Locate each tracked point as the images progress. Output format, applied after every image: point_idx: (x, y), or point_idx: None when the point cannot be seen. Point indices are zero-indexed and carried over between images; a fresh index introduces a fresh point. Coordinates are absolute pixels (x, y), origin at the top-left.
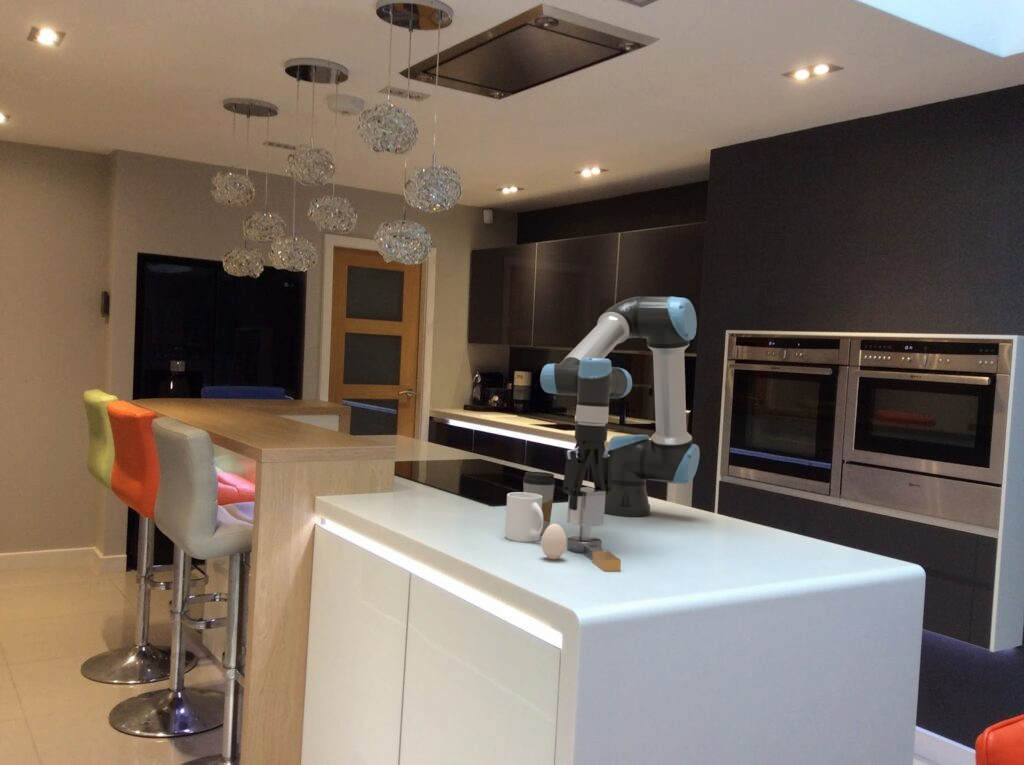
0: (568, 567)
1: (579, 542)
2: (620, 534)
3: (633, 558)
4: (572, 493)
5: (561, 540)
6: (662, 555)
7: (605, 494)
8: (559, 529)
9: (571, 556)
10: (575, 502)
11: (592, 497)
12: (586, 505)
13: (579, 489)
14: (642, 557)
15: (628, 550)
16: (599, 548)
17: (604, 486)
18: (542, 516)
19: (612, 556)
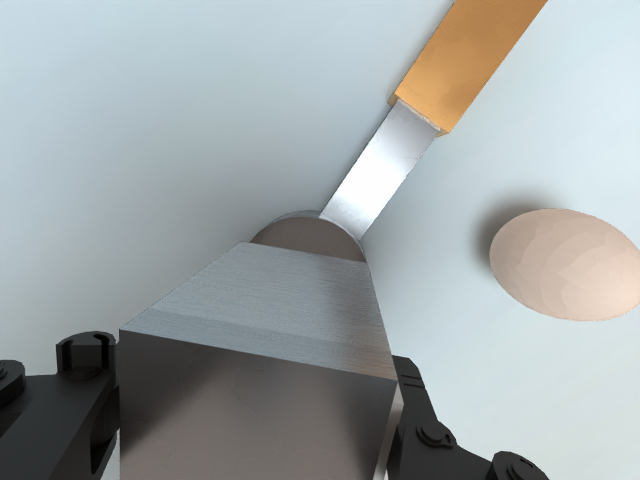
0: (579, 135)
1: (365, 260)
2: (19, 336)
3: (252, 84)
4: (500, 453)
5: (590, 216)
6: (112, 48)
7: (109, 336)
8: (622, 248)
9: (422, 235)
10: (408, 389)
11: (313, 331)
12: (373, 311)
13: (417, 471)
14: (208, 74)
15: (169, 177)
16: (353, 170)
17: (34, 413)
18: (387, 474)
19: (470, 9)
